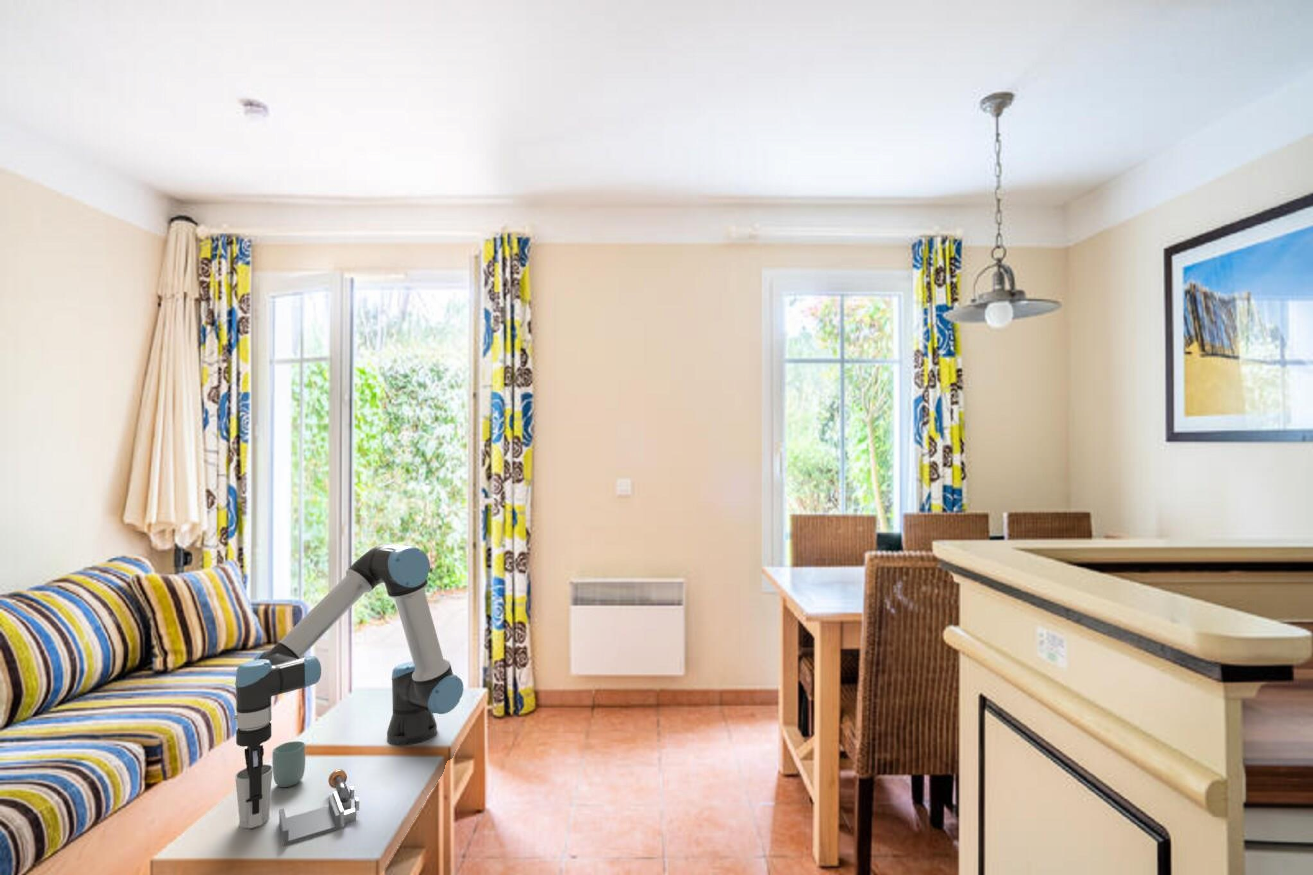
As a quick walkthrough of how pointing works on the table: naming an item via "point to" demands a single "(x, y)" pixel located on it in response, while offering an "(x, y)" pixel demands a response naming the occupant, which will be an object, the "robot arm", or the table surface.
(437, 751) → the table surface
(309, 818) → the dock
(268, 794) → the cup
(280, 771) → the cup
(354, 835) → the table surface
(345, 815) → the lug rail
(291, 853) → the table surface
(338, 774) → the lock pin
